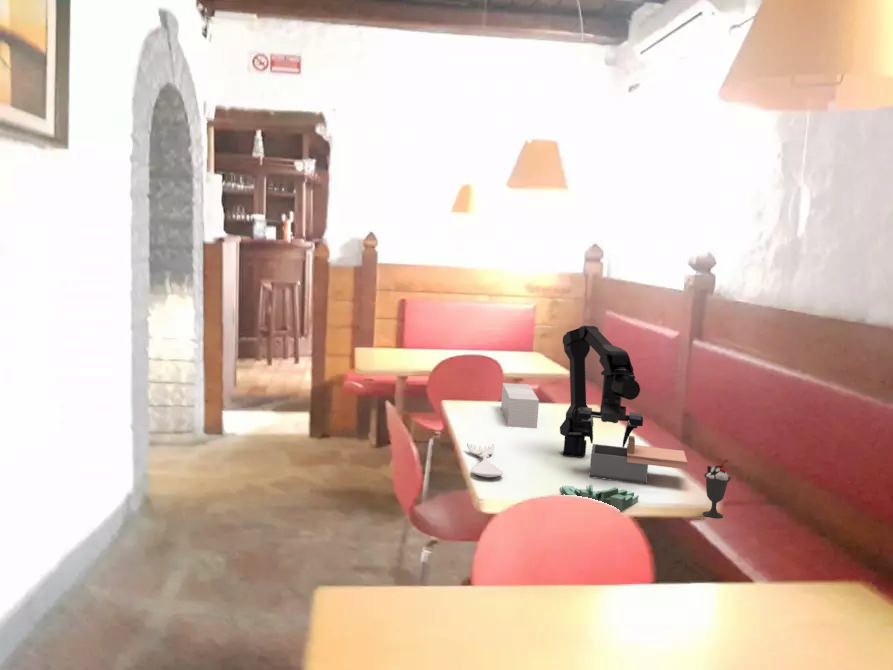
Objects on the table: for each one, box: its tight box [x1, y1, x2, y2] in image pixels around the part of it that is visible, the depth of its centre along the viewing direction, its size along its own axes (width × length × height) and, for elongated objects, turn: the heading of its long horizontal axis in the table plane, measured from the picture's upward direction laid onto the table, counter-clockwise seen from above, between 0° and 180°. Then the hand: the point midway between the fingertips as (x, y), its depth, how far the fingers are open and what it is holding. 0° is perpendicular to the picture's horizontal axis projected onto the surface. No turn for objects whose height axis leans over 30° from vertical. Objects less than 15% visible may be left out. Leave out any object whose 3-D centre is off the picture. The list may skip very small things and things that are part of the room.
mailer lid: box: [626, 435, 688, 470], centre depth 227 cm, size 16×14×5 cm
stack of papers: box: [500, 382, 540, 429], centre depth 299 cm, size 32×11×11 cm, turn 0°
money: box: [559, 484, 640, 513], centre depth 204 cm, size 20×16×5 cm
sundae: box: [702, 459, 732, 520], centre depth 198 cm, size 7×7×15 cm
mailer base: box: [589, 443, 649, 485], centre depth 229 cm, size 16×12×7 cm
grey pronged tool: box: [466, 441, 504, 478], centre depth 230 cm, size 9×32×4 cm, turn 2°
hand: (607, 445), depth 230 cm, fingers open, 9 cm apart
